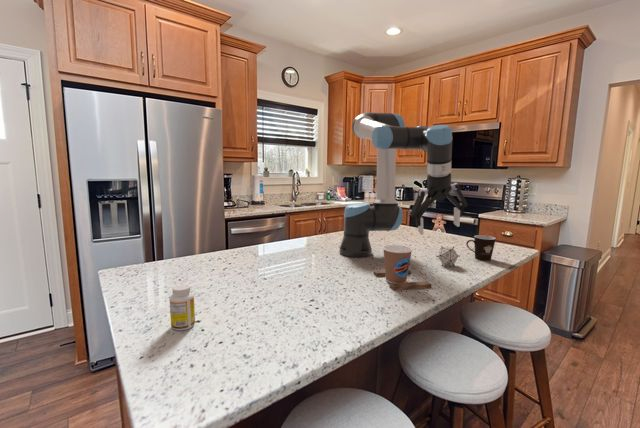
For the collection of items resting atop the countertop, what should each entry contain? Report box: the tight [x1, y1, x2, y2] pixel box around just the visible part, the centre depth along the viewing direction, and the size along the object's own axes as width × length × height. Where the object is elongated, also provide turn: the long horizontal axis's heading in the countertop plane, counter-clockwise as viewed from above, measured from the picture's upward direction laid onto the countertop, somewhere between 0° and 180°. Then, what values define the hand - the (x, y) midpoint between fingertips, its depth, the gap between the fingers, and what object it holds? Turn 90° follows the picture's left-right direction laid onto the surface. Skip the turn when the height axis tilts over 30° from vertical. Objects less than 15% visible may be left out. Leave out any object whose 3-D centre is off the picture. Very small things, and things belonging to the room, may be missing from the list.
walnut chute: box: [372, 269, 432, 291], centre depth 116 cm, size 14×17×1 cm
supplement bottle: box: [169, 284, 196, 332], centre depth 80 cm, size 6×6×10 cm
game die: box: [435, 245, 461, 268], centre depth 134 cm, size 9×8×10 cm
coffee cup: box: [382, 244, 413, 284], centre depth 115 cm, size 10×10×12 cm
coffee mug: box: [465, 234, 497, 262], centre depth 145 cm, size 12×9×10 cm
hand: (438, 229), depth 116 cm, fingers open, 13 cm apart
